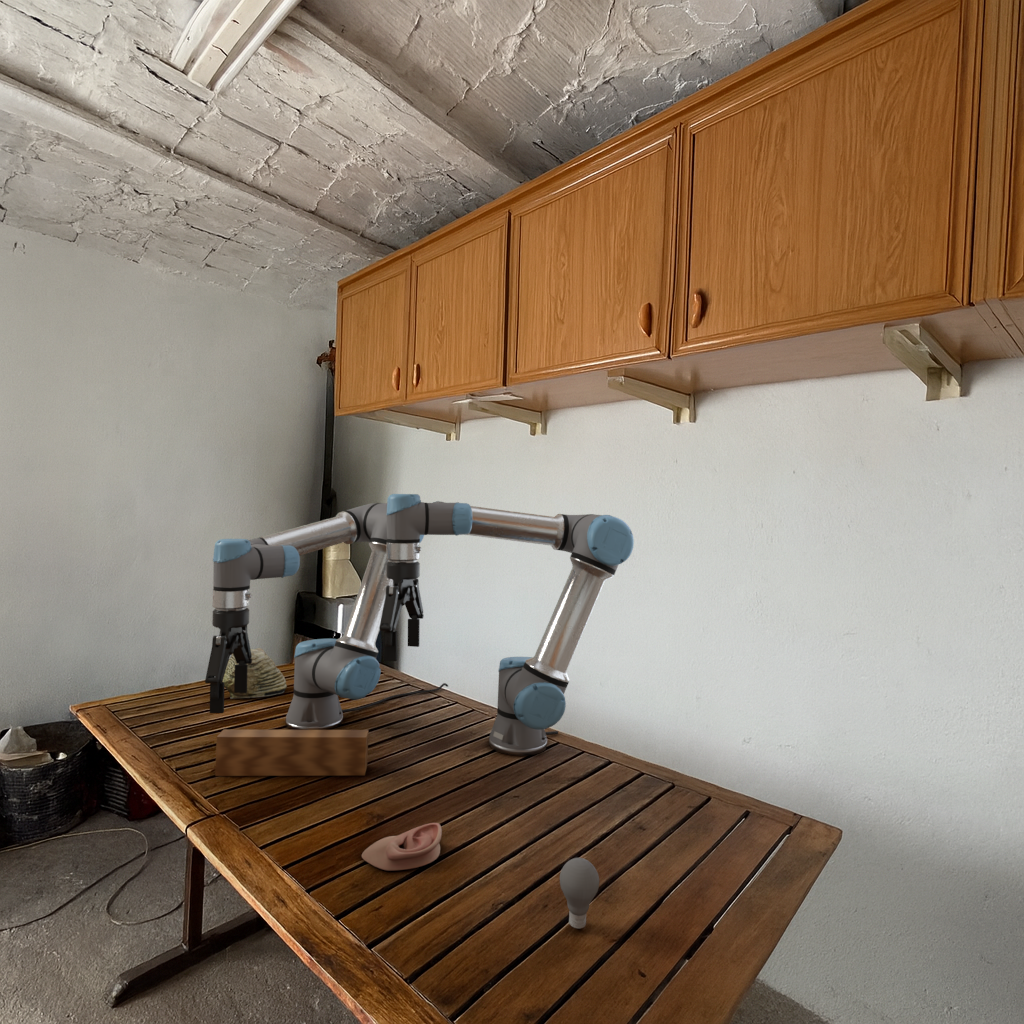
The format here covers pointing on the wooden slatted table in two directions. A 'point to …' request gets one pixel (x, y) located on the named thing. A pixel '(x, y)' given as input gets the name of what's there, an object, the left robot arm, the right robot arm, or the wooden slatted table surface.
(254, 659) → the fossil
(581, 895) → the light bulb
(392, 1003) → the wooden slatted table surface
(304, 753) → the bar
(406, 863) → the anatomical model
